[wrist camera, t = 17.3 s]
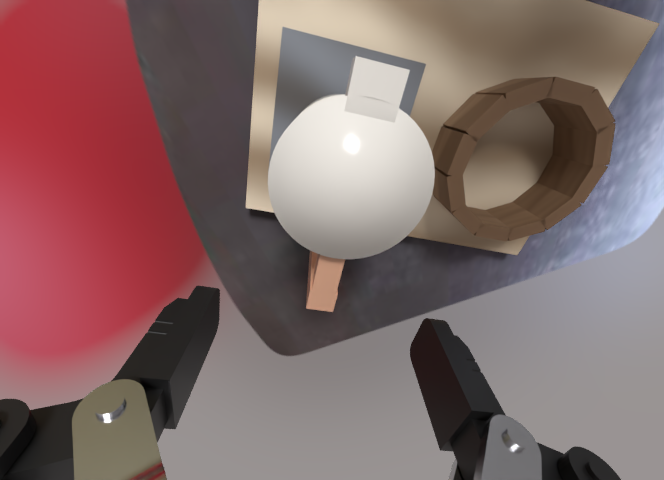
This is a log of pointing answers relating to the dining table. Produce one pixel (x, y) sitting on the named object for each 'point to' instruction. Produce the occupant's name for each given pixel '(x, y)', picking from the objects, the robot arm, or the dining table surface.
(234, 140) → the dining table surface
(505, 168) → the serving board
